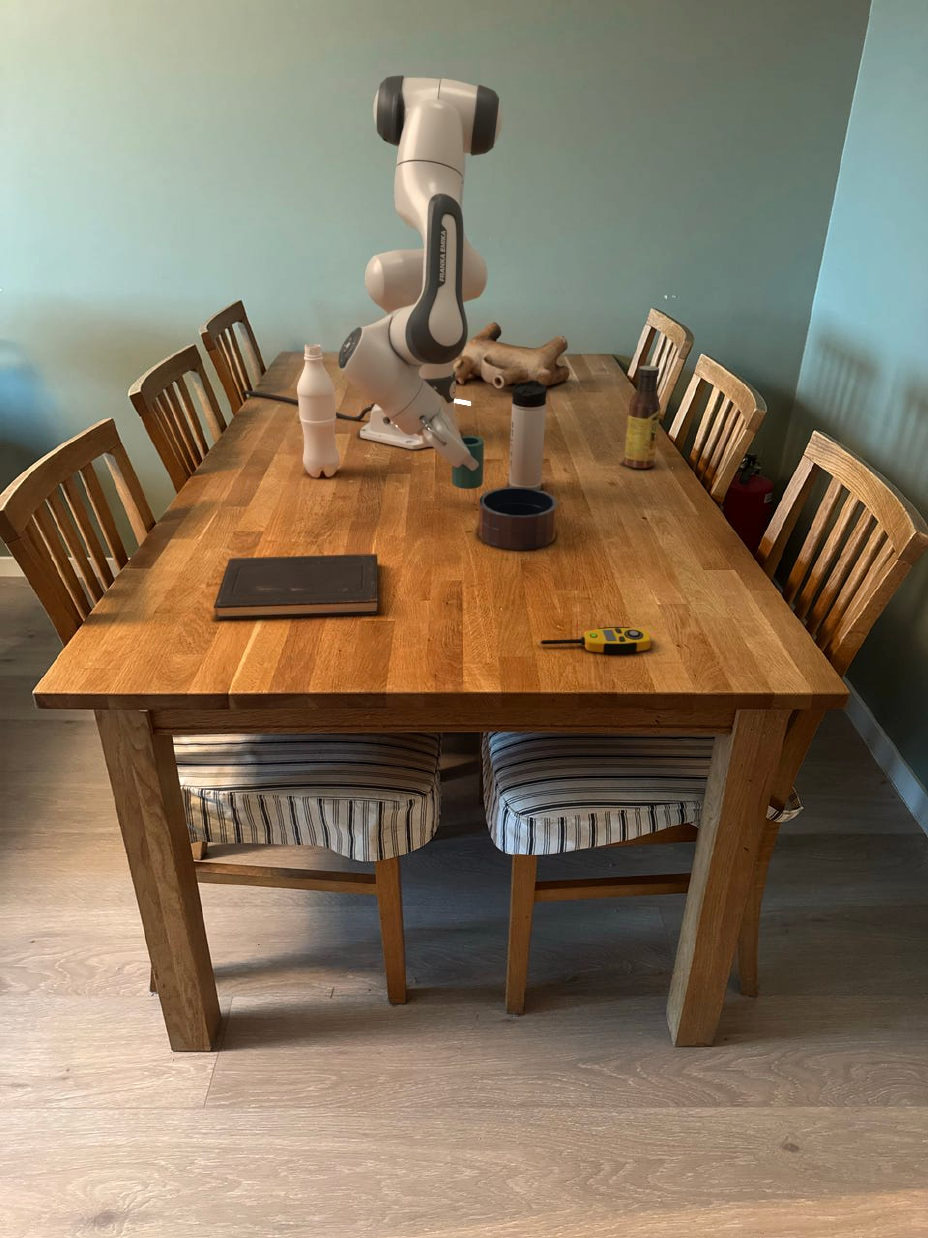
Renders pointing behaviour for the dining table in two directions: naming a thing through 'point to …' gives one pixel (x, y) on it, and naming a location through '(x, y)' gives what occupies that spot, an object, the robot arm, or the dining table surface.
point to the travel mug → (527, 434)
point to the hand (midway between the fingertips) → (471, 459)
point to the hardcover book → (298, 587)
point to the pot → (517, 518)
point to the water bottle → (317, 415)
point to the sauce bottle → (643, 420)
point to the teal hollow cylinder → (463, 474)
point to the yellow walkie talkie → (611, 640)
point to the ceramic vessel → (510, 360)
